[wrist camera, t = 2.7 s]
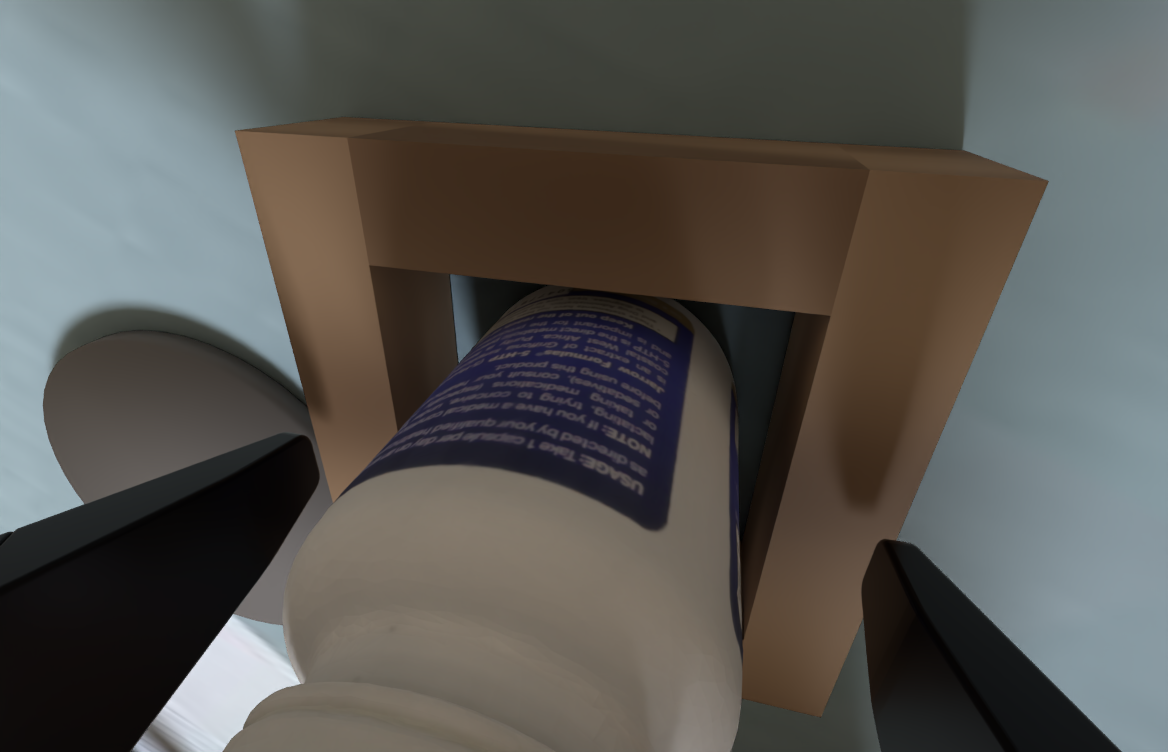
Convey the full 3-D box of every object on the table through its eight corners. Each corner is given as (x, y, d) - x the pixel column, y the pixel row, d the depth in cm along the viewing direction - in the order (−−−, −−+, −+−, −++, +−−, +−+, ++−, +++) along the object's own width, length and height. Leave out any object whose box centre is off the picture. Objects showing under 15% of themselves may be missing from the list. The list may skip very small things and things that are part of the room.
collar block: (806, 610, 13) (820, 717, 11) (414, 528, 15) (360, 606, 13) (963, 150, 8) (1048, 181, 6) (342, 116, 10) (235, 130, 8)
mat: (404, 639, 17) (395, 656, 17) (144, 574, 19) (128, 587, 19) (345, 358, 12) (329, 370, 12) (3, 308, 14) (-24, 317, 14)
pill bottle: (438, 364, 12) (-64, 872, 4) (623, 211, 9) (195, 776, 2) (594, 527, 13) (409, 1139, 6) (794, 430, 11) (936, 1289, 3)
